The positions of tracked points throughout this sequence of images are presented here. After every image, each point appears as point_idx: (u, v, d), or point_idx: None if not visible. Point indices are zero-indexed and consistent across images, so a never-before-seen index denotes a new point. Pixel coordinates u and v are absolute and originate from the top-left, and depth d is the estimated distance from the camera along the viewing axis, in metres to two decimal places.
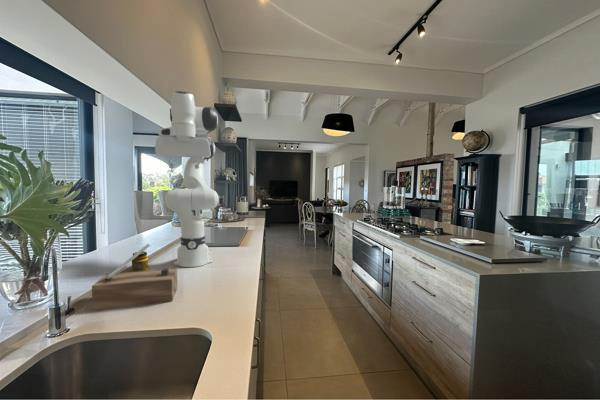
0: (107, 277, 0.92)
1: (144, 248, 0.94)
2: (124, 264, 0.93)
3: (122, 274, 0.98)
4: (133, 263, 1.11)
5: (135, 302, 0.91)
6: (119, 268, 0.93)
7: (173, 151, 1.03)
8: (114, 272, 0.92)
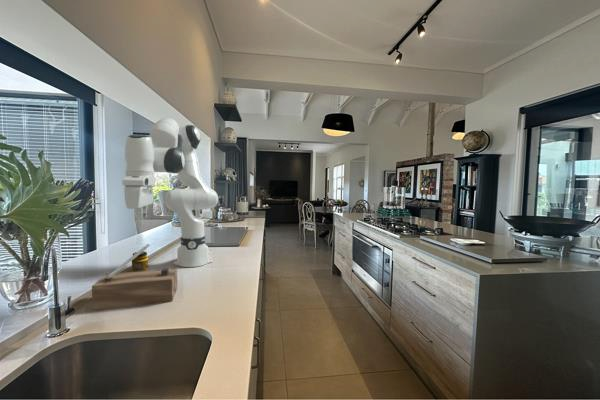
0: (107, 277, 0.92)
1: (144, 248, 0.94)
2: (124, 264, 0.93)
3: (122, 274, 0.98)
4: (133, 263, 1.11)
5: (135, 302, 0.91)
6: (119, 268, 0.93)
7: (144, 201, 0.92)
8: (114, 272, 0.92)
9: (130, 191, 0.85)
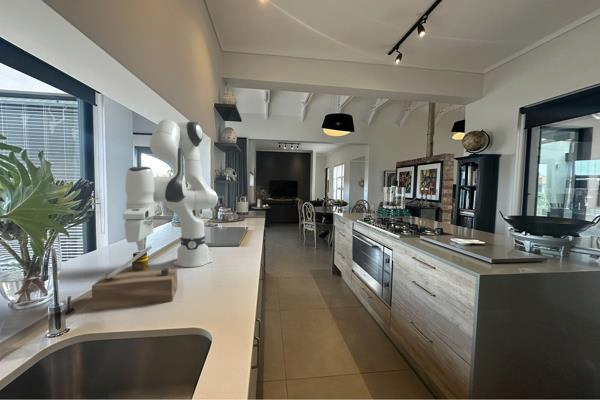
0: (107, 277, 0.92)
1: (146, 250, 0.95)
2: (125, 265, 0.93)
3: (122, 274, 0.98)
4: (133, 263, 1.11)
5: (135, 302, 0.91)
6: (120, 269, 0.93)
7: (144, 233, 0.93)
8: (114, 272, 0.92)
9: (130, 225, 0.86)
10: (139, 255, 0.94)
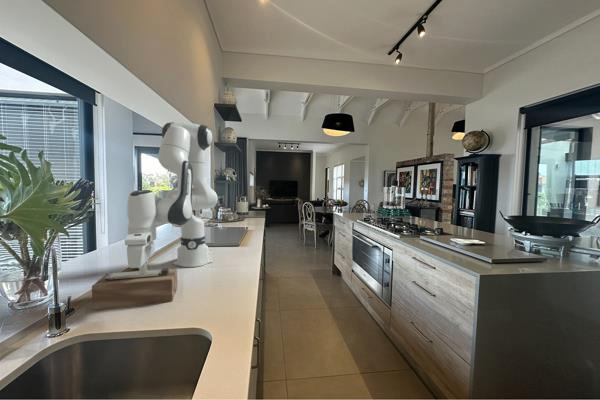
0: (108, 277, 0.92)
1: (156, 274, 0.96)
2: (130, 276, 0.94)
3: None
4: None
5: (135, 302, 0.91)
6: (123, 277, 0.93)
7: (146, 257, 0.93)
8: (116, 277, 0.93)
9: (132, 251, 0.86)
10: (147, 275, 0.95)
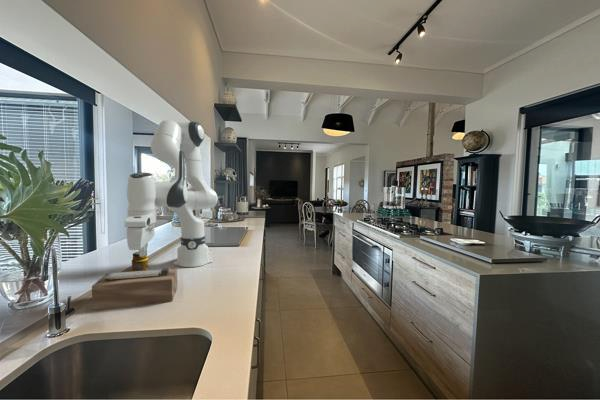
0: (108, 277, 0.92)
1: (156, 274, 0.96)
2: (130, 276, 0.94)
3: None
4: (133, 263, 1.11)
5: (135, 302, 0.91)
6: (123, 277, 0.93)
7: (145, 240, 0.93)
8: (116, 277, 0.93)
9: (132, 233, 0.86)
10: (147, 275, 0.95)
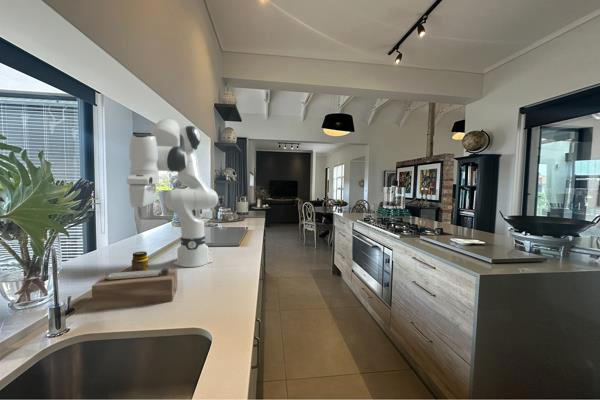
0: (108, 277, 0.92)
1: (156, 274, 0.96)
2: (130, 276, 0.94)
3: None
4: (133, 263, 1.11)
5: (135, 302, 0.91)
6: (123, 277, 0.93)
7: (148, 200, 0.93)
8: (116, 277, 0.93)
9: (134, 190, 0.87)
10: (147, 275, 0.95)
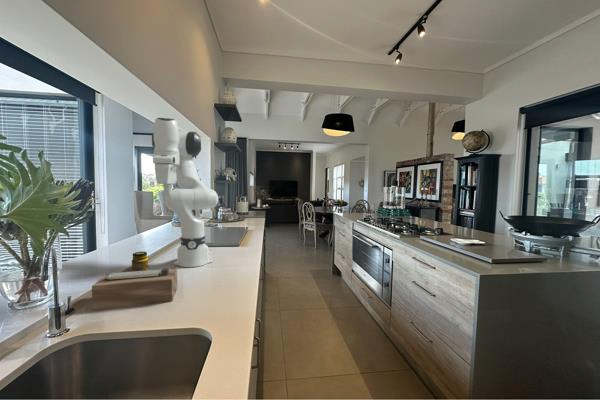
0: (108, 277, 0.92)
1: (156, 274, 0.96)
2: (130, 276, 0.94)
3: None
4: (133, 263, 1.11)
5: (135, 302, 0.91)
6: (123, 277, 0.93)
7: (170, 179, 1.00)
8: (116, 277, 0.93)
9: (160, 168, 0.94)
10: (147, 275, 0.95)
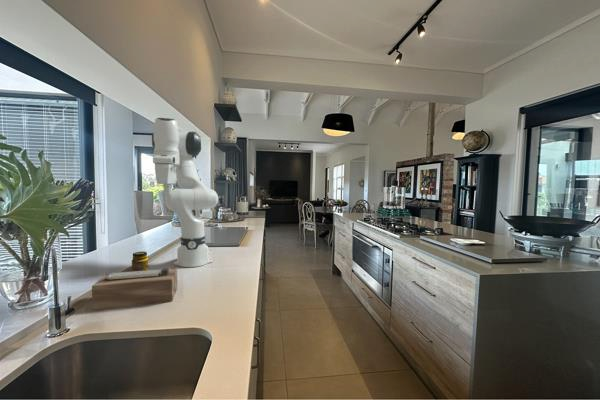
0: (108, 277, 0.92)
1: (156, 274, 0.96)
2: (130, 276, 0.94)
3: None
4: (133, 263, 1.11)
5: (135, 302, 0.91)
6: (123, 277, 0.93)
7: (170, 179, 1.00)
8: (116, 277, 0.93)
9: (160, 168, 0.94)
10: (147, 275, 0.95)
